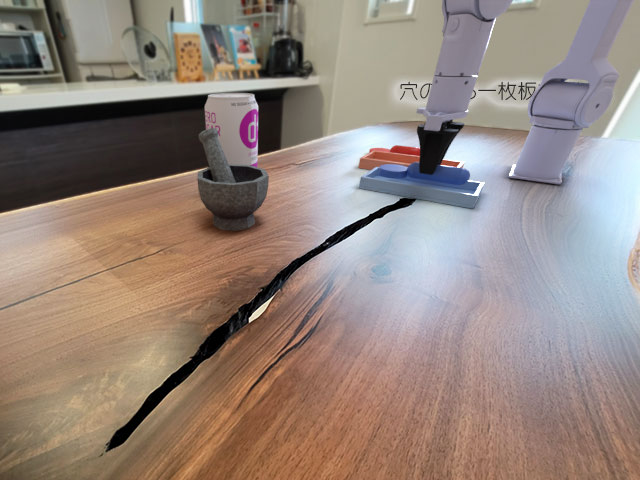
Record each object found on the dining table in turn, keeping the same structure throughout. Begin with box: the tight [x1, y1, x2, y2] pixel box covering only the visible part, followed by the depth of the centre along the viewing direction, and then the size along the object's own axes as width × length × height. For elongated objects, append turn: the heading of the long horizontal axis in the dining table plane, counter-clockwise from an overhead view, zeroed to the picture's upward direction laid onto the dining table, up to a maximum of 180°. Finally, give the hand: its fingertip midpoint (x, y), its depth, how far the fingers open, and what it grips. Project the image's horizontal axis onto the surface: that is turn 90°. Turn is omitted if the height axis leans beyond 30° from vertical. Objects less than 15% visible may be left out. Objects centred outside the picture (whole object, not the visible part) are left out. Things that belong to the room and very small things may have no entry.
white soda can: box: [204, 92, 259, 168], centre depth 58 cm, size 8×8×15 cm
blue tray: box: [358, 167, 485, 209], centre depth 62 cm, size 8×18×2 cm, turn 54°
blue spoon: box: [378, 162, 471, 185], centre depth 60 cm, size 14×5×3 cm, turn 54°
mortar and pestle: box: [197, 128, 270, 232], centre depth 49 cm, size 11×9×12 cm
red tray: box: [357, 151, 465, 171], centre depth 73 cm, size 8×18×2 cm, turn 54°
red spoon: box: [368, 144, 420, 156], centre depth 81 cm, size 14×5×3 cm, turn 54°
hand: (428, 171), depth 60 cm, fingers closed on blue spoon, 2 cm apart
